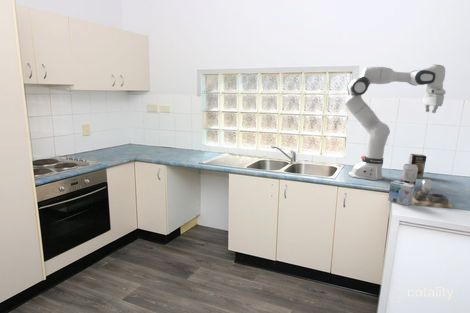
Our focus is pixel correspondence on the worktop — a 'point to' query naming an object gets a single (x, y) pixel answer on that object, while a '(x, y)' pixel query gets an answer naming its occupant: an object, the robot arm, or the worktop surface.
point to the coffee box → (418, 163)
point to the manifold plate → (431, 200)
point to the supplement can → (409, 174)
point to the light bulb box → (401, 192)
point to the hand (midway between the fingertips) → (430, 112)
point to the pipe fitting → (426, 186)
